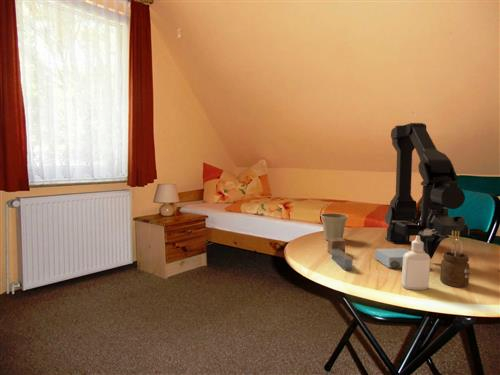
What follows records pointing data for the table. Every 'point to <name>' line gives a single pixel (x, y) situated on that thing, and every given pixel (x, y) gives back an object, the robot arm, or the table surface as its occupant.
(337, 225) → the flower pot
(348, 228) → the table surface
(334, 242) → the block
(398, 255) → the cart
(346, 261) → the buffer
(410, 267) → the eye dropper bottle
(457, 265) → the utensil holder
